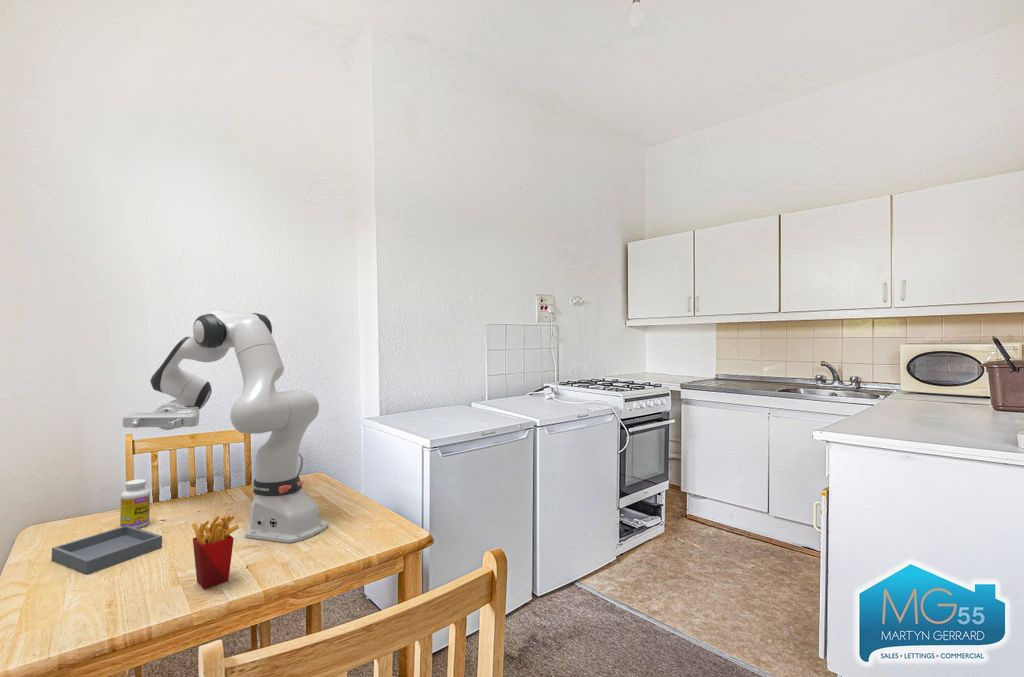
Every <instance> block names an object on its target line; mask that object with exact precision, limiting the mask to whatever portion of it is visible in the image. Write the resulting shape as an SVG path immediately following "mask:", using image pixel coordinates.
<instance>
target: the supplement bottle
mask: <svg viewBox="0 0 1024 677" xmlns="http://www.w3.org/2000/svg"><path fill="white" fill-rule="evenodd" d="M146 485H147V480H146V479H140V478H139V479H133V480H132V479H131V480H129V481H126V482H125V485H124V486H125V491H123V492H122V493H121V495H120V515H119V516H120V517H119V519H120V520H119V523H120V524H119V526H120V527H123V526H126V525H128V526H132V527H135V528H138V529H141V528H143V527H145V526H147V525H148V524H150V512H151V511H150V508H151V507H150V505H151V504H150V503H151V502H150V501H151V500H150V499H151V497H150V496H151V490H150V489H148V488H147V487H146Z"/></svg>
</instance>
